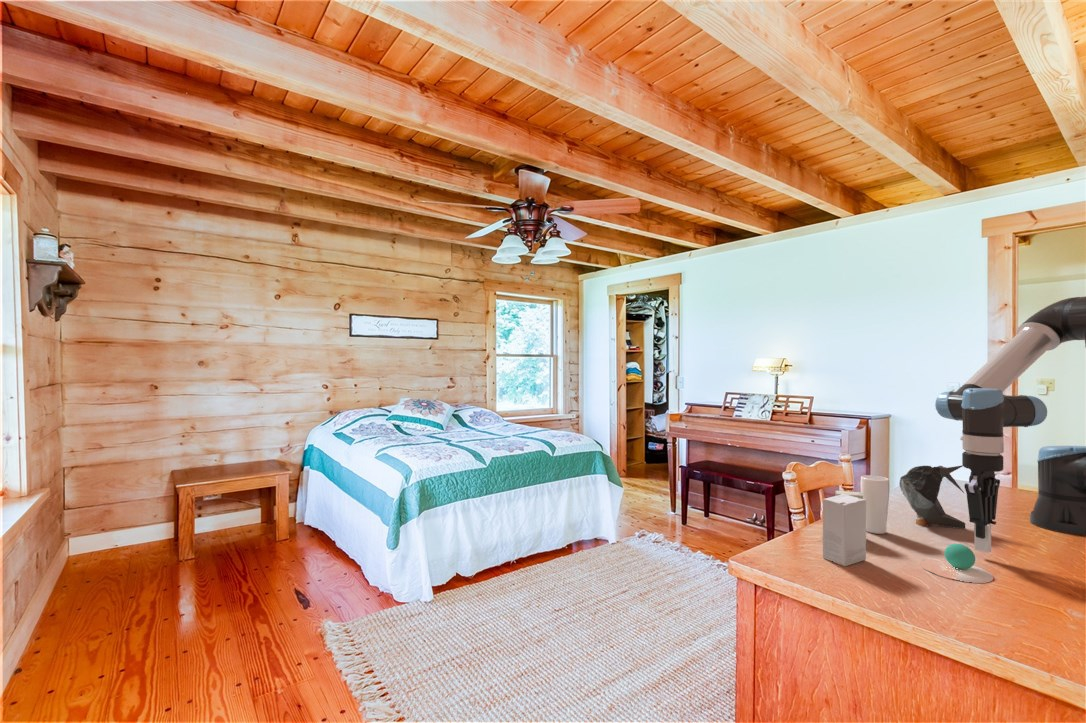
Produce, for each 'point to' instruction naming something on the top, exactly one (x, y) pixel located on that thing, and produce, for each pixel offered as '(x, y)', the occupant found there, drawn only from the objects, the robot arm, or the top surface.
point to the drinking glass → (875, 502)
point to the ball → (959, 556)
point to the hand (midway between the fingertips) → (982, 550)
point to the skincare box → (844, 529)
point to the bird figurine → (928, 495)
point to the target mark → (973, 575)
